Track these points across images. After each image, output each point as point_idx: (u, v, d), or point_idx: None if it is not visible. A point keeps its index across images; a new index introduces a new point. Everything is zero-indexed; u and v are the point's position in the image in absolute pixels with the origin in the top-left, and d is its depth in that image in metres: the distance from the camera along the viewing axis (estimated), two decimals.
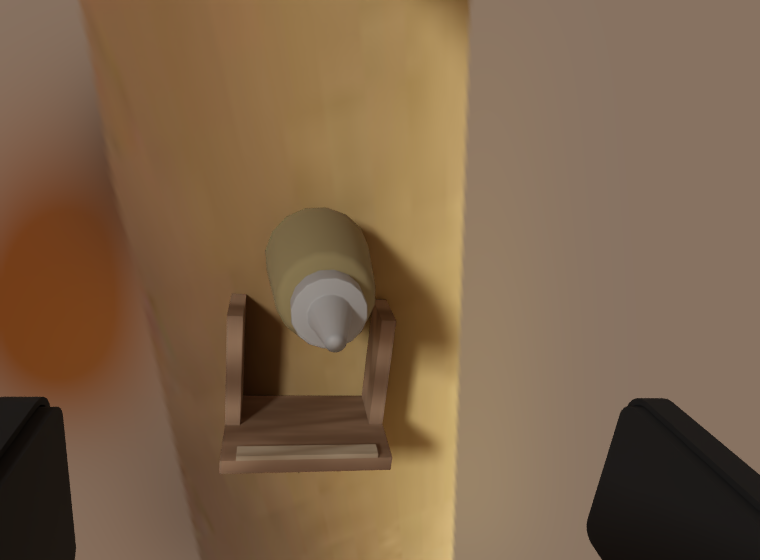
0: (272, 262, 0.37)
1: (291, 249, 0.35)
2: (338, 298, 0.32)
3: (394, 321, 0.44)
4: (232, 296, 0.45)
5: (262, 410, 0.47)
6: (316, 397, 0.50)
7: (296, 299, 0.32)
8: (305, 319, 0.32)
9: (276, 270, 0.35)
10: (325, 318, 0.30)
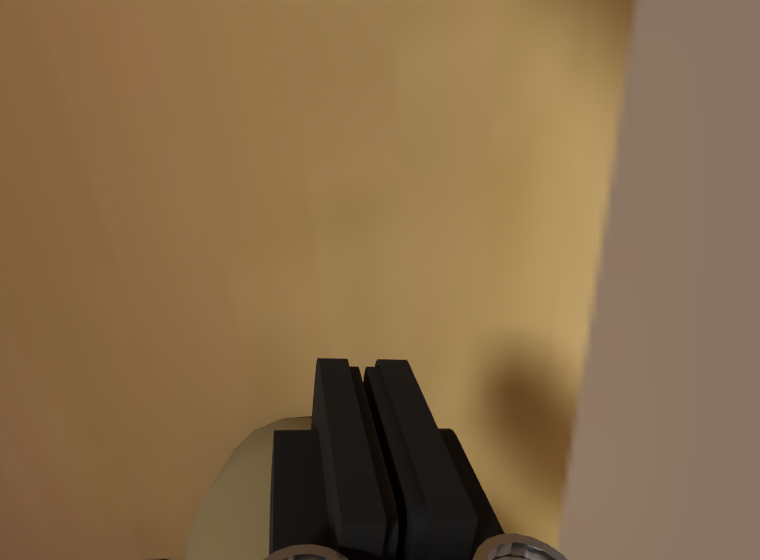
0: None
1: None
2: None
3: None
4: None
5: None
6: None
7: None
8: None
9: None
10: None
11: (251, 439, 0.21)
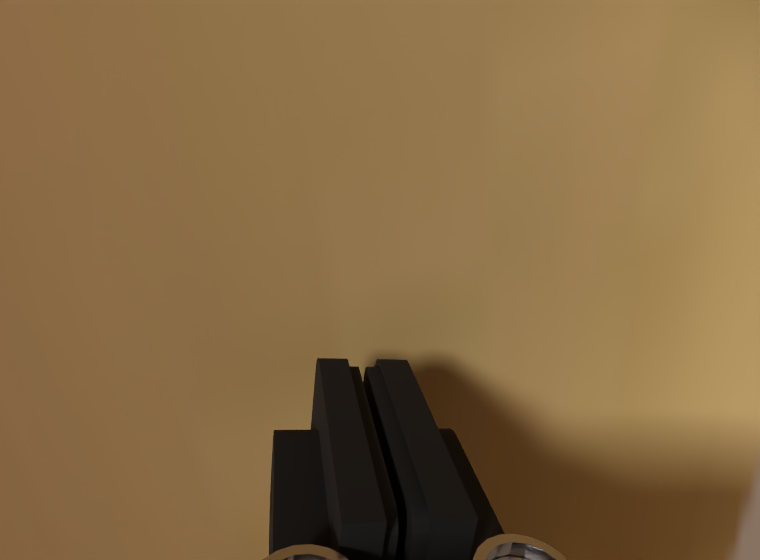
0: None
1: None
2: None
3: None
4: None
5: None
6: None
7: None
8: None
9: None
10: None
11: None
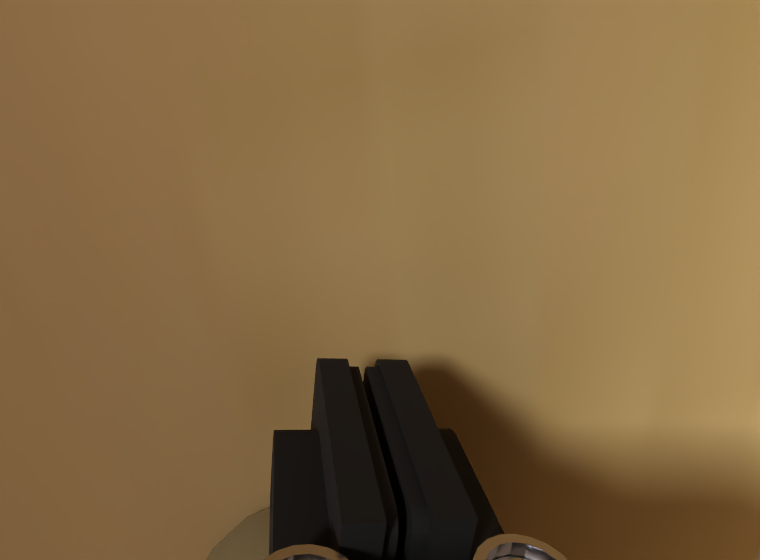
0: None
1: None
2: None
3: None
4: None
5: None
6: None
7: None
8: None
9: None
10: None
11: (241, 538, 0.11)
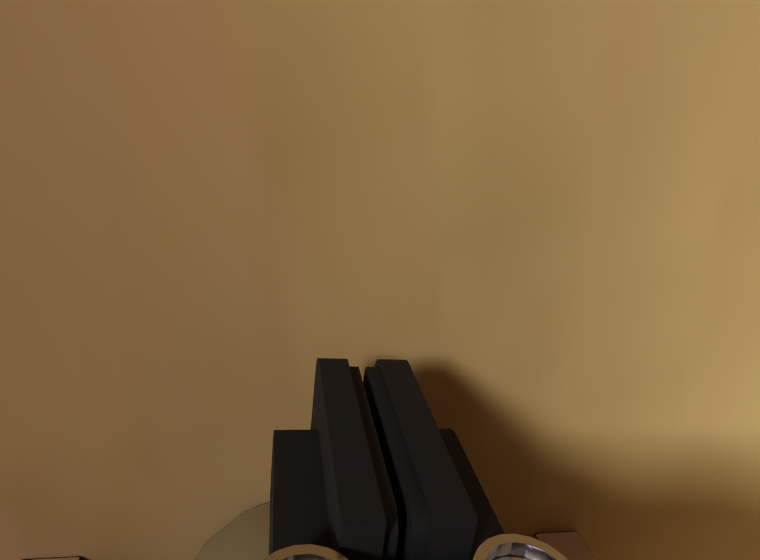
0: None
1: None
2: None
3: None
4: None
5: None
6: None
7: None
8: None
9: None
10: None
11: (239, 532, 0.11)
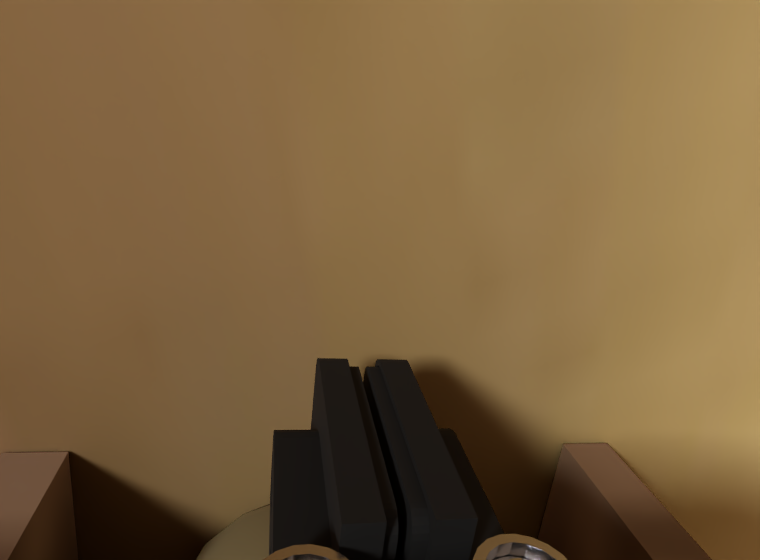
0: None
1: None
2: None
3: None
4: None
5: None
6: None
7: None
8: None
9: None
10: None
11: (238, 535, 0.11)
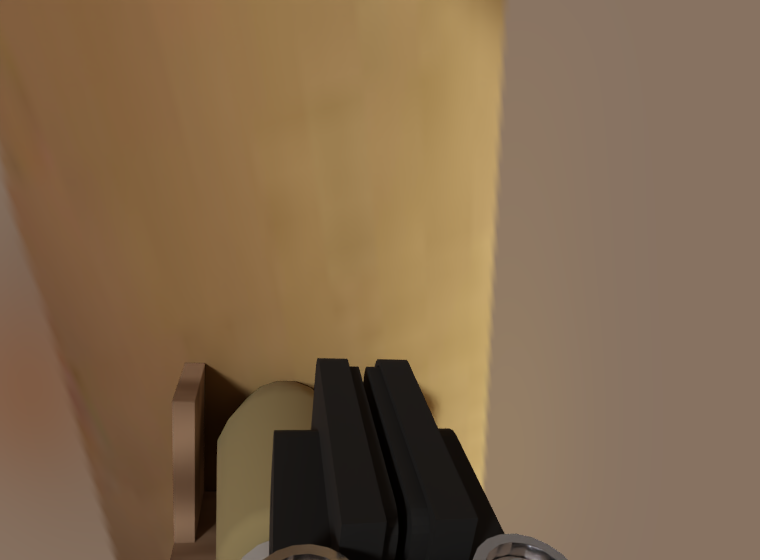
0: (220, 481, 0.28)
1: (244, 482, 0.26)
2: None
3: None
4: (185, 367, 0.34)
5: None
6: None
7: None
8: None
9: (222, 507, 0.27)
10: None
11: (259, 390, 0.34)
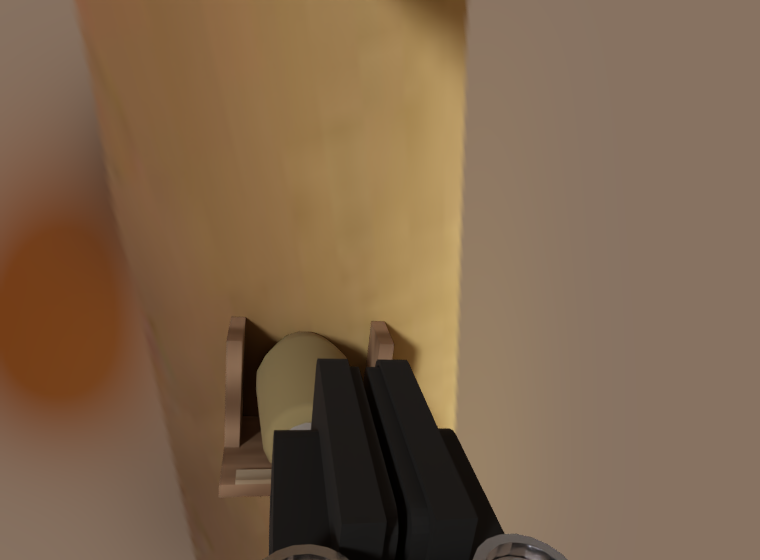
0: (263, 395, 0.41)
1: (281, 391, 0.39)
2: None
3: (392, 344, 0.45)
4: (232, 319, 0.46)
5: None
6: None
7: None
8: None
9: (266, 409, 0.39)
10: None
11: (285, 337, 0.47)
